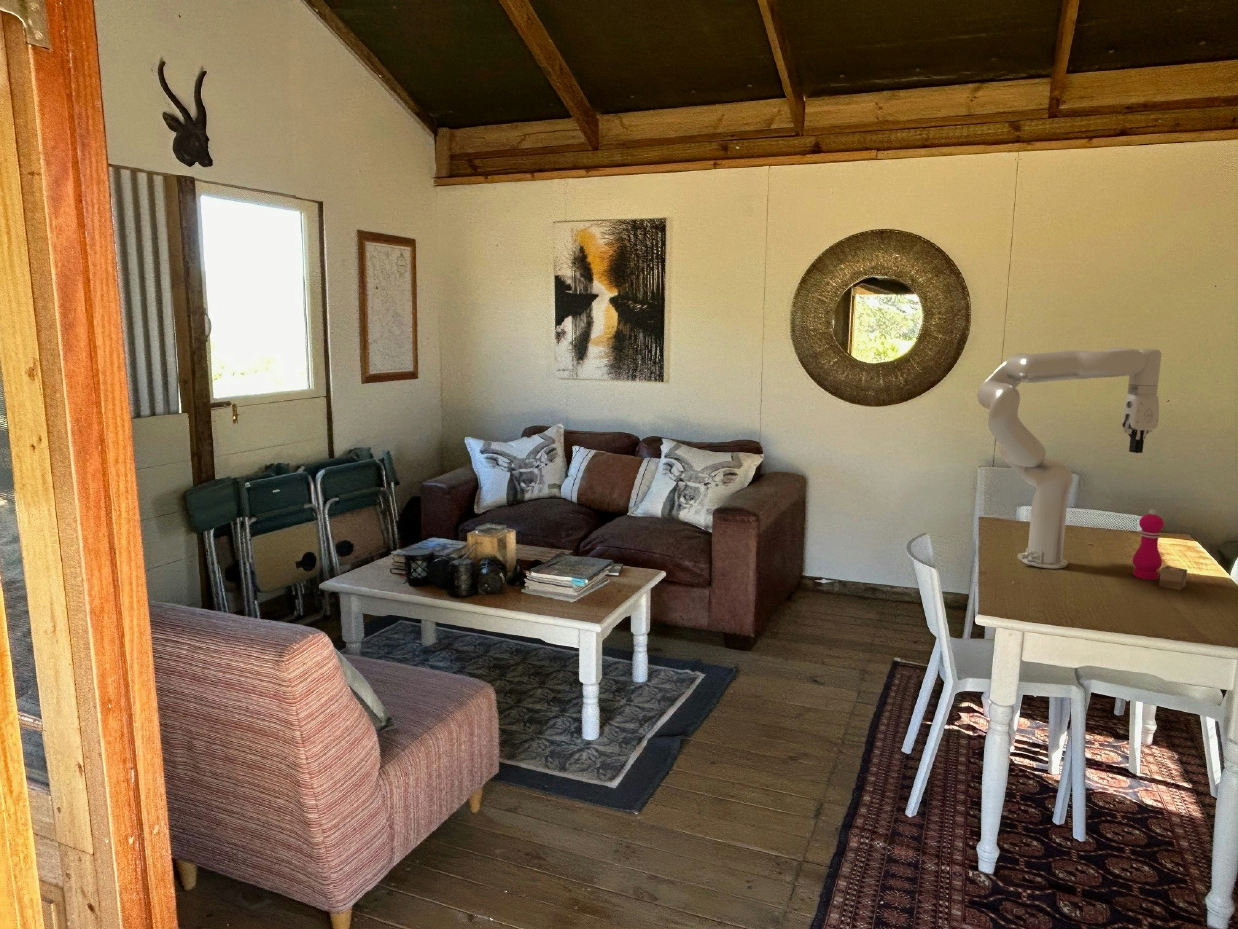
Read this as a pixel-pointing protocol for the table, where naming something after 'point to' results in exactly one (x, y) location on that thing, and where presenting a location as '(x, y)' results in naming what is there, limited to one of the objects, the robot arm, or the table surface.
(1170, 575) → the walnut block
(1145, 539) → the pepper mill
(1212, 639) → the table surface
